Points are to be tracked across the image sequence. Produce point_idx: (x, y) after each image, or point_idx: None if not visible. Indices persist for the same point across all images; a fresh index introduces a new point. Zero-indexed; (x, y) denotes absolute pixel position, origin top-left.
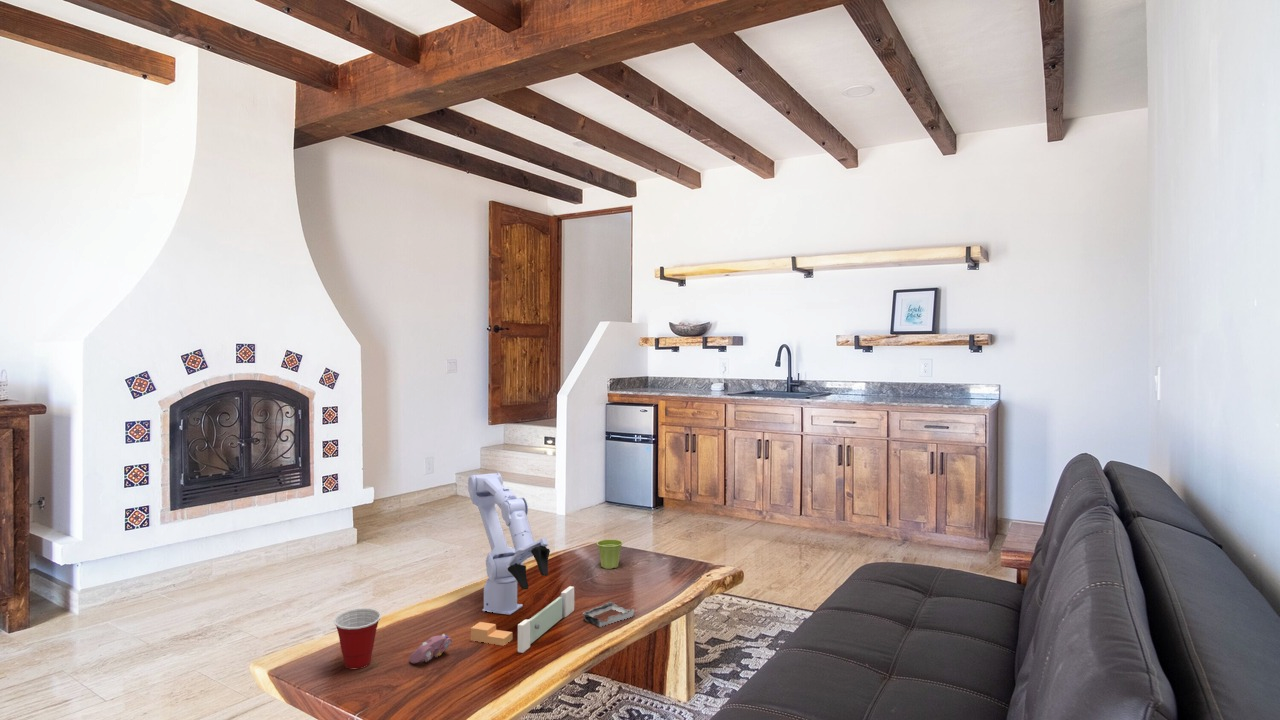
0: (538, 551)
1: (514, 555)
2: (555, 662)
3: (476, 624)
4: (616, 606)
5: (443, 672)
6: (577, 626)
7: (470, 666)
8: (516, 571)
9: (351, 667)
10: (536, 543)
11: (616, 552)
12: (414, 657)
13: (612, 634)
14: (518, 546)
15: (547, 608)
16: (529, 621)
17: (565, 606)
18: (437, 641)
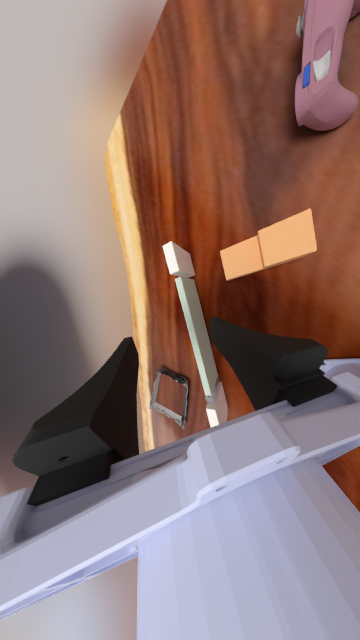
0: (52, 411)
1: (318, 436)
2: (140, 265)
3: (312, 233)
4: (176, 420)
5: (235, 95)
6: (182, 360)
7: (212, 160)
8: (250, 345)
9: None
10: (29, 546)
11: None
12: None
13: (143, 354)
14: (293, 614)
15: (191, 341)
16: (169, 270)
17: None
18: (305, 21)
